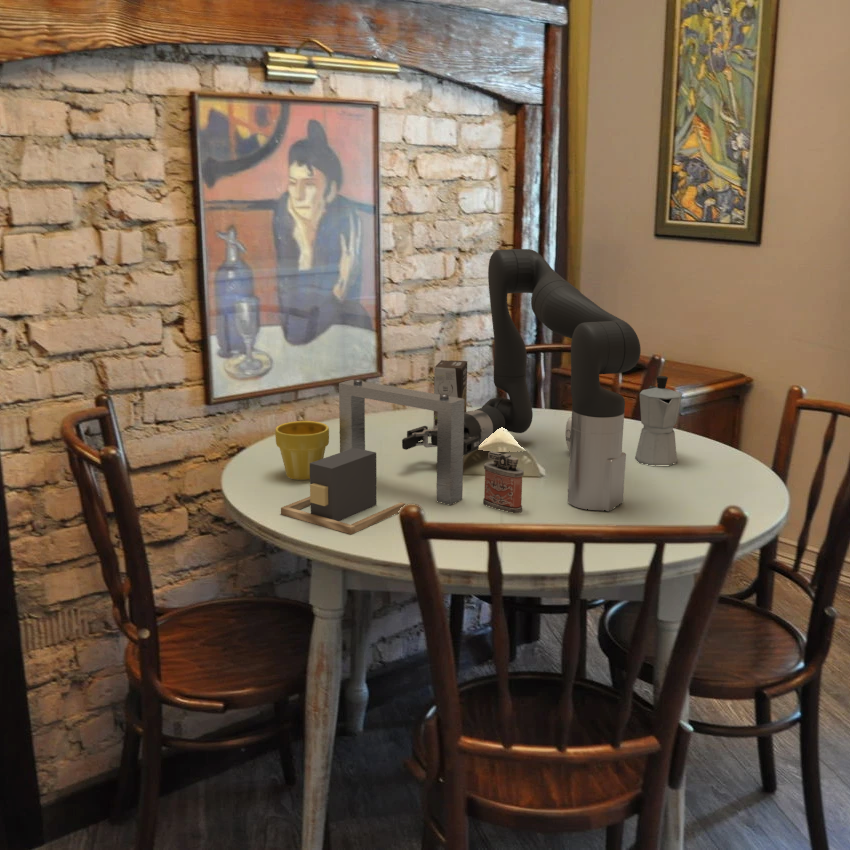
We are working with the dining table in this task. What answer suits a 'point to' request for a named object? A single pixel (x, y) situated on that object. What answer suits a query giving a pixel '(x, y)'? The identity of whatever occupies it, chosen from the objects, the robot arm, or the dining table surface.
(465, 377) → the coffee box
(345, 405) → the grey metal arch
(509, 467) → the lighter
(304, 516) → the bay
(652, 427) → the coffee maker
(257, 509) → the dining table surface
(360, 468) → the dark grey box
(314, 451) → the plant pot
